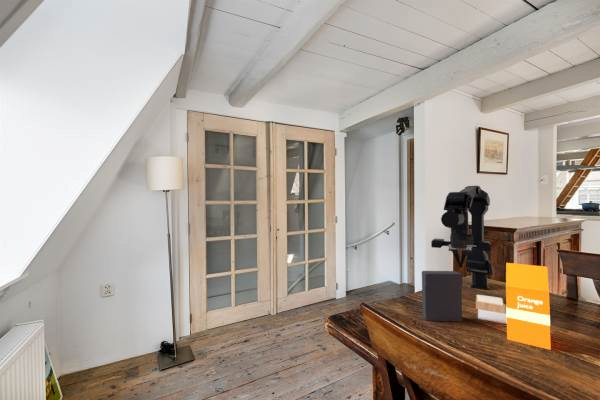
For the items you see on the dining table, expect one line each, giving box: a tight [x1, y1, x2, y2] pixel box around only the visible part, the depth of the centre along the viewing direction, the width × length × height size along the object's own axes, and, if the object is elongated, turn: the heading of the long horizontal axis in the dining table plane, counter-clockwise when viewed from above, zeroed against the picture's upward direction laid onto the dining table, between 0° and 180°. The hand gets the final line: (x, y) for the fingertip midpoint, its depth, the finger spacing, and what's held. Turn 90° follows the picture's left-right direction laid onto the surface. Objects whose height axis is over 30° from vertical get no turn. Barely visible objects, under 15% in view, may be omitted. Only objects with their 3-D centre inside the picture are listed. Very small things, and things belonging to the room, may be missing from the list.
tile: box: [475, 294, 505, 314], centre depth 95 cm, size 8×3×8 cm
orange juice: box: [505, 262, 552, 351], centre depth 74 cm, size 8×9×20 cm
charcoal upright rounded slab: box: [421, 270, 463, 322], centre depth 88 cm, size 11×4×15 cm, turn 84°
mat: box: [477, 303, 507, 325], centre depth 90 cm, size 18×16×1 cm
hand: (460, 267), depth 102 cm, fingers closed
